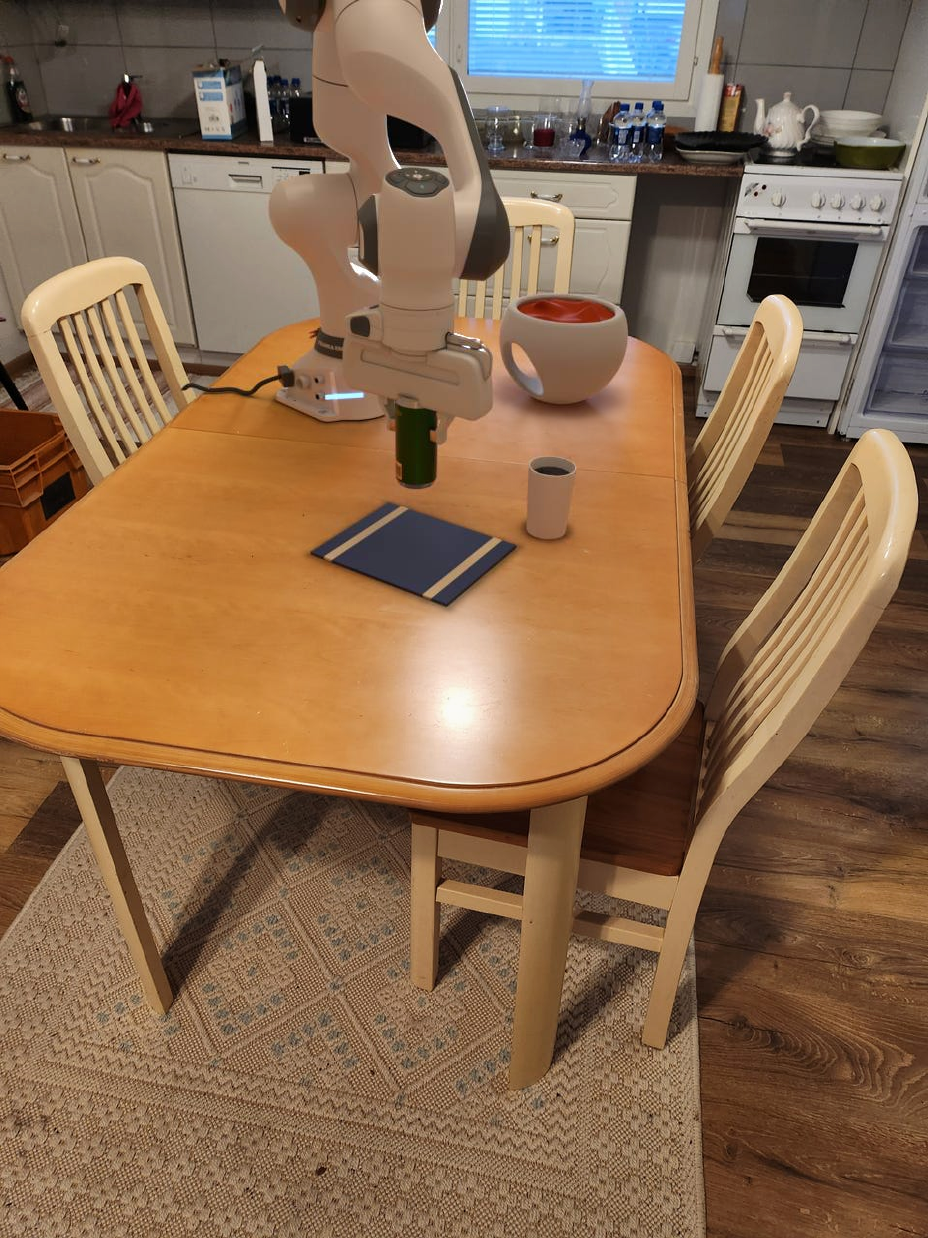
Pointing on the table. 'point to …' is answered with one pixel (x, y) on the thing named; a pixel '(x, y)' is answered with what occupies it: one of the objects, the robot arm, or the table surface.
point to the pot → (564, 344)
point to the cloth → (415, 552)
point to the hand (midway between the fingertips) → (416, 435)
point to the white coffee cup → (549, 496)
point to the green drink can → (414, 444)
